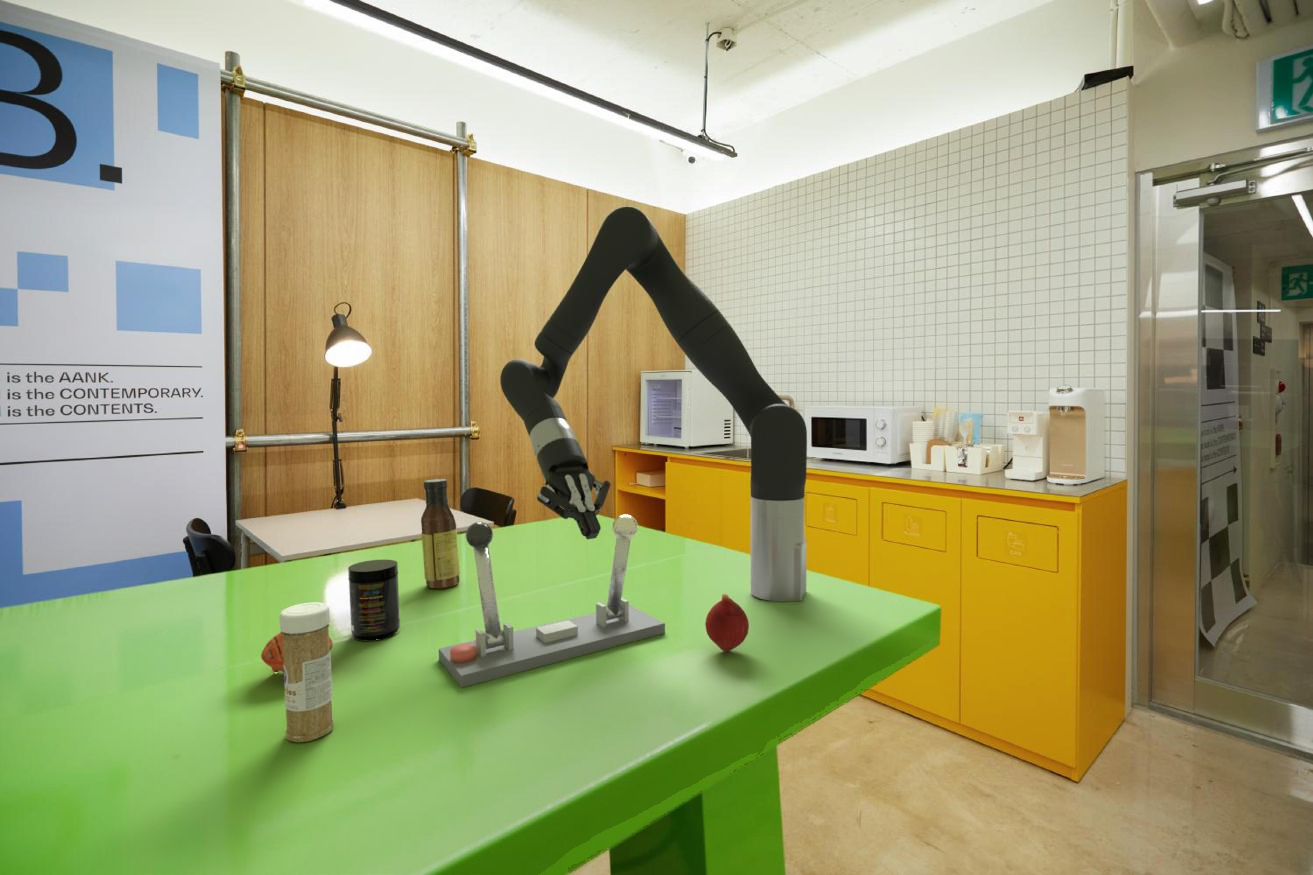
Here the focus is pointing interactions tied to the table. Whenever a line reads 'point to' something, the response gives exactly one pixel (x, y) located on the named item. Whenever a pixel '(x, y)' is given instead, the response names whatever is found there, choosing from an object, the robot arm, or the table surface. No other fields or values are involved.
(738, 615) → the onion
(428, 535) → the sauce bottle
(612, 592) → the metal lever
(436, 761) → the table surface
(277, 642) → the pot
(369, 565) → the supplement container
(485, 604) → the silver metal rod
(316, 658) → the sprinkles bottle
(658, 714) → the table surface
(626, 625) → the switch panel
